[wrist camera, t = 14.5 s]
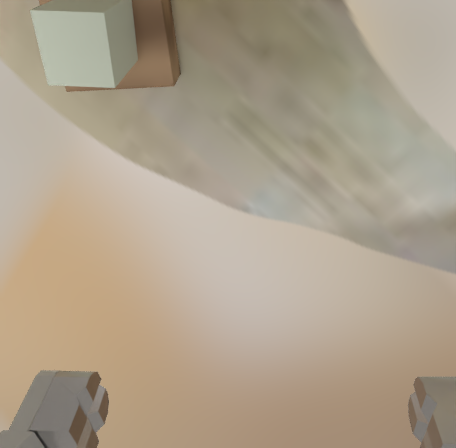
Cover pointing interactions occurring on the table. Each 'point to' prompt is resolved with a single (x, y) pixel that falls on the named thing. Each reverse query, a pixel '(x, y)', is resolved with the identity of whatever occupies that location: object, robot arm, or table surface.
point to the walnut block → (149, 48)
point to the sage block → (86, 41)
